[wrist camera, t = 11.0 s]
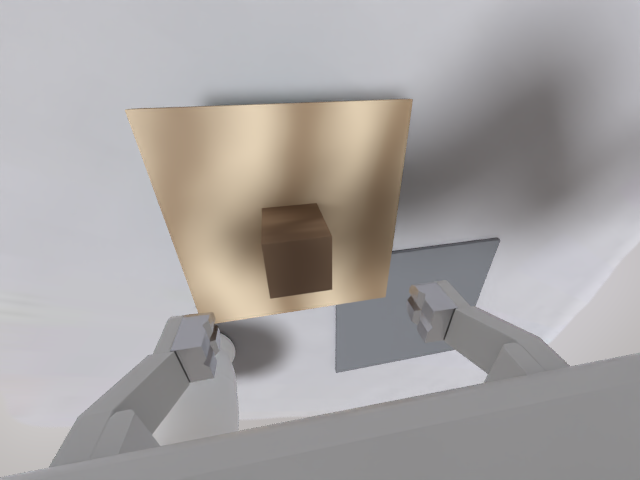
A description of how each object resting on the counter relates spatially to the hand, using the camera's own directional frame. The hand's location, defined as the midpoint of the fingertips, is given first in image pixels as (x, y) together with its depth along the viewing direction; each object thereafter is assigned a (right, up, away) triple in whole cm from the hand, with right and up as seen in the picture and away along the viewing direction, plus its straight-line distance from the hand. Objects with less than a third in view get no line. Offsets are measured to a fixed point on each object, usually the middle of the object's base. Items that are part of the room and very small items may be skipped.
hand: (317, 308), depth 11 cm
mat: (+12, -7, +24) cm, 28 cm away
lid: (-2, +4, +7) cm, 9 cm away
